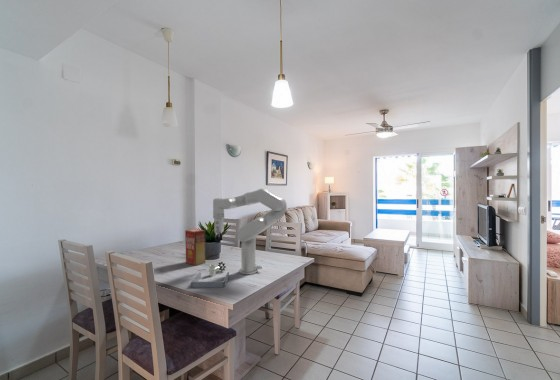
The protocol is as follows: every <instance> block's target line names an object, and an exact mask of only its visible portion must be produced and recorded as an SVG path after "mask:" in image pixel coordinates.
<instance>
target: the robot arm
mask: <svg viewBox="0 0 560 380" xmlns="http://www.w3.org/2000/svg"><path fill="white" fill-rule="evenodd" d="M259 203H260V204H262V205H264V206H265V207H267V208H269V209H270V210H269V211H268V212H266V213H265V214H263V215H262V216H259V217H257V218H255V219H253V220H250V221H249V222H248V223H247V224H245V225H243V226H242V227H240V228H239V229H237V232H236V236H237V239H238V240H239V241H240V242H241V245H240V246H241V261H240V262H241V265H240V266H241V267H240V269H238V272H239V274H242V275H252V274H257V273H258V271H259V270H263V266H261V265H257V263H256V243H257V241H256V240H257V236H258V235H260V234H261V233H263V232H264V231H266V230H267V229H268V228H269V227H270V226H273V225H274V224H276V223H277V222H278V221H280V220H281V219H282V218H283V217H284V216H285V214H286V212H287V208H288V207H287V205H288V204H287V202H286V200H285V198H284V197H281V196H275V195H274V194H272V193H271V191H270V190H269V189H267V188H259V189H256V190H254V191H249V192H246V193H244V194H242V195H239V196H235V197H228V198H222V197H221V198H218V197H217V198H216V197H215V198H213V199H212V210H213V211H212V216H213V217H212V219H214V221H213V223H214V228H213V229H214V233H215V234H214V235H215V236H214V237H215V238H214V240H215V241H214V242H215V244H218V243H219V244H220V243H221V241H223V233H224V231H225V229H224V228H225V226H224V219H225V210H231V209H235V208H236V209H237V208H241V207H244V206H251V205H255V204H259Z"/></svg>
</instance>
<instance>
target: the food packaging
mask: <svg viewBox="0 0 560 380" xmlns="http://www.w3.org/2000/svg"><path fill="white" fill-rule="evenodd" d="M184 234H185V236H184V237H185V263H186V264H188V265H192V266H196V267H197V266H199V265H201V266H202V265H205V264H206V230H203V229H197V228H191V229H186V230H185V231H184Z"/></svg>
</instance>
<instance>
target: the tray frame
mask: <svg viewBox="0 0 560 380" xmlns="http://www.w3.org/2000/svg"><path fill="white" fill-rule="evenodd" d="M201 278H202V273H201V272H198V274H196V276H195V277H194V278H193V279H192V281H191V282H190V287H191V288H195V289H196V288H225V287H226V285H227V283H228V280H229V279H230V272H229V271H228V272H227V273H226V275H225V276H224V278H223V280H222V281H221V280H220V281H219V280H217V281H215V280H214V281H200V279H201Z"/></svg>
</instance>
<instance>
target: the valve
mask: <svg viewBox="0 0 560 380" xmlns="http://www.w3.org/2000/svg"><path fill="white" fill-rule="evenodd" d="M226 268H227V266H226V263H225V262H223V261H221V262H218V265H217V266H216V264H210V265H209V269H208V272H209V274H208V275H209V277H215V276H216V272H217V271H220V272H223V271H226Z"/></svg>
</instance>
